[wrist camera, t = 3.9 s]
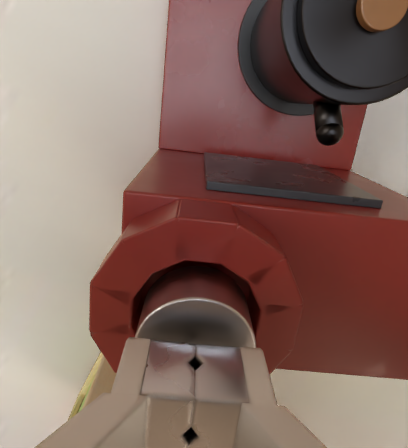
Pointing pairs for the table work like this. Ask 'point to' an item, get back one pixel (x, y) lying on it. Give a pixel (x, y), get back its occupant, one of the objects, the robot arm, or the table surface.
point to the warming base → (246, 113)
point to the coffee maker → (266, 267)
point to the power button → (197, 309)
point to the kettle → (331, 55)
